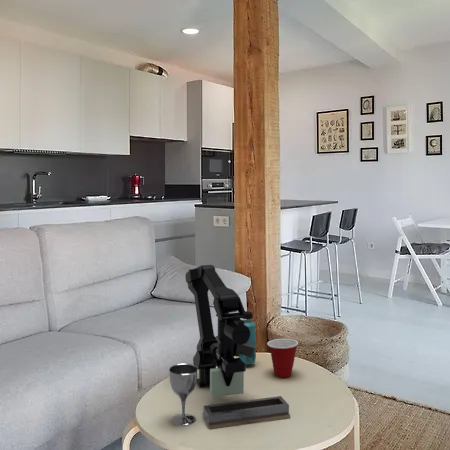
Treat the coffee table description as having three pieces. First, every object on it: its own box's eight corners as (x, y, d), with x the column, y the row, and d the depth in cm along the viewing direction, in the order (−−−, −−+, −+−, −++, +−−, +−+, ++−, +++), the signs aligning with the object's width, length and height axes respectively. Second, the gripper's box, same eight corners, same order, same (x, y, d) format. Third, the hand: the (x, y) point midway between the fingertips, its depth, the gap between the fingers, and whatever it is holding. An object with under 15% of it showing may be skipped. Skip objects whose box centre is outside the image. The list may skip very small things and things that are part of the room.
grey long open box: (202, 415, 146) (202, 404, 146) (279, 405, 153) (279, 394, 153) (209, 429, 139) (209, 417, 138) (290, 418, 145) (290, 406, 145)
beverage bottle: (254, 369, 182) (255, 315, 180) (236, 367, 183) (236, 313, 181) (257, 362, 188) (257, 310, 186) (239, 361, 190) (239, 309, 188)
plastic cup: (276, 366, 184) (276, 334, 183) (303, 373, 178) (303, 340, 177) (260, 376, 176) (261, 342, 174) (288, 383, 169) (288, 349, 168)
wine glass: (186, 429, 139) (186, 376, 137) (163, 421, 143) (163, 370, 142) (202, 417, 146) (202, 367, 144) (180, 410, 150) (180, 361, 148)
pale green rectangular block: (209, 394, 154) (210, 368, 153) (241, 390, 157) (241, 365, 156) (211, 397, 152) (212, 371, 151) (243, 393, 155) (243, 368, 154)
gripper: (262, 341, 146) (262, 393, 147) (242, 323, 164) (242, 370, 165) (225, 345, 143) (225, 398, 144) (209, 326, 161) (209, 373, 162)
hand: (226, 384), depth 154 cm, fingers closed on pale green rectangular block, 2 cm apart
